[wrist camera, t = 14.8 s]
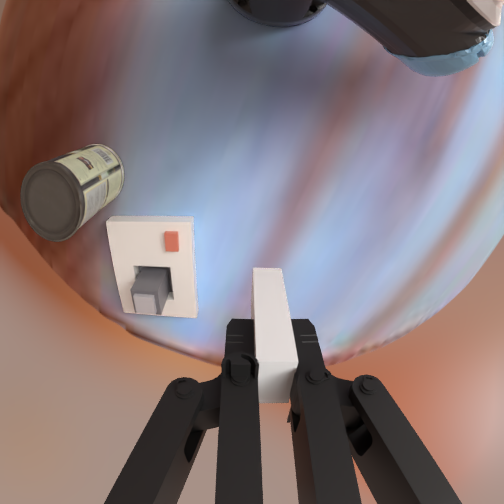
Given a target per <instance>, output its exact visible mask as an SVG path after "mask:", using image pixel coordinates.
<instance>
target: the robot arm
mask: <svg viewBox="0 0 504 504" xmlns="http://www.w3.org/2000/svg"><path fill="white" fill-rule="evenodd" d="M228 1H229V2H230V4H231V5H232V6H233V8H234V9H235V10H236V11H238V12H239V13H240V14H241V15H243V16H244V17H246V18H248V19H250V20H252V21H255V22H257V23H260V24H264V25H269V26H278V27H285V26H294V25H299V24H302V23H305V22H307V21H309V20H311V19H313V18H314V17H316V16H317V15H318V14H319V13H320V12H321V11H322V10H323V9H324V8H325V6H326V5H327V4H328V5H329V6H331V7H332V8H334V9H335V10H337V11H338V12H340V13H341V14H343V15H344V16H346V17H347V18H348V19H350V20H351V21H353V22H354V23H355V24H357V25H358V26H359V27H361V28H362V29H363V30H365V31H366V32H367V33H368V34H370V35H371V36H372V37H373V38H375V39H376V40H377V41H378V42H380V43H381V44H382V45H383V47H384V49H385V50H386V51H387V52H388V53H390V54H391V55H393V56H395V57H397V58H398V59H400V60H401V61H402V62H403V63H404V64H405V65H406V66H408V67H409V68H410V69H411V70H413V71H415V72H417V73H419V74H422V75H425V76H434V77H436V76H446V75H451V74H454V73H458V72H460V71H463V70H465V69H467V68H469V67H471V66H473V65H474V64H476V63H477V62H478V61H479V59H478V58H479V57H482V56H486V55H487V53H488V52H489V51H490V49H491V48H492V45H493V42H494V35H493V32H492V29H493V28H495V27H497V26H499V25H500V21H501V8H502V5H503V4H504V0H228ZM316 335H317V334H316V331H315V327H314V325H313V324H312V323H311V322H310V321H309V320H308V319H291V317H290V312H289V307H288V301H287V296H286V291H285V286H284V280H283V275H282V270H281V269H280V268H253V278H252V297H251V319H231V321H230V322H229V324H228V325H227V330H226V343H225V357H224V359H223V361H222V364H221V367H222V373H221V374H220V375H219V376H218V377H217V378H215V379H213V380H210V381H206V382H201V383H198V382H197V381H196V380H194V379H192V378H186V377H183V378H177V379H175V380H174V381H172V382H171V383H170V384H169V385H168V387H167V388H166V390H165V392H164V394H163V396H162V397H161V399H160V401H159V403H158V405H157V407H156V409H155V410H154V412H153V414H152V416H151V418H150V420H149V421H148V423H147V425H146V427H145V429H144V430H143V432H142V434H141V436H140V438H139V440H138V442H137V443H136V445H135V447H134V449H133V451H132V452H131V454H130V456H129V458H128V460H127V462H126V464H125V465H124V467H123V469H122V471H121V473H120V475H119V476H118V478H117V480H116V482H115V484H114V486H113V488H112V490H111V491H110V493H109V495H108V497H107V499H106V501H105V503H104V504H177V502H178V499H179V497H180V494H181V492H182V490H183V487H184V485H185V482H186V480H187V478H188V475H189V473H190V470H191V468H192V465H193V463H194V460H195V458H196V456H197V453H198V451H199V448H200V446H201V443H202V441H203V438H204V436H205V433H206V431H207V429H211V428H216V427H219V434H218V452H217V473H216V493H215V504H263V491H262V467H261V442H260V420H259V419H260V418H259V403H288V402H289V399H290V400H291V408H290V412H289V415H288V419H287V422H291V431H292V441H293V449H294V459H295V469H296V479H297V489H298V500H299V504H362V503H361V498H360V493H359V488H358V484H357V478H356V474H355V469H354V464H353V460H352V457H353V459H354V460H355V462H356V464H357V466H358V468H359V470H360V472H361V474H362V476H363V477H364V479H365V481H366V483H367V485H368V487H369V489H370V491H371V493H372V495H373V496H374V498H375V500H376V502H377V504H462V503H461V501H460V500H459V498H458V497H457V495H456V493H455V492H454V490H453V489H452V487H451V485H450V484H449V482H448V481H447V479H446V478H445V476H444V474H443V473H442V472H441V470H440V468H439V467H438V465H437V464H436V462H435V460H434V459H433V458H432V456H431V454H430V453H429V451H428V450H427V448H426V447H425V445H424V444H423V442H422V441H421V439H420V438H419V436H418V435H417V433H416V432H415V430H414V429H413V427H412V426H411V424H410V423H409V421H408V420H407V418H406V417H405V416H404V414H403V413H402V411H401V410H400V408H399V407H398V405H397V404H396V403H395V401H394V400H393V398H392V397H391V395H390V394H389V392H388V391H387V389H386V388H385V386H384V385H383V384H382V383H381V381H380V380H379V379H378V378H376V377H374V376H371V375H361V376H359V377H357V378H355V380H354V381H349V380H343V379H339V378H336V377H335V376H333V375H331V373H330V372H329V371H328V370H327V369H326V368H325V365H324V361H323V357H322V353H321V349H320V346H319V343H318V338H317V336H316Z"/></svg>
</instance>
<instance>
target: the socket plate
mask: <svg viewBox="0 0 504 504" xmlns="http://www.w3.org/2000/svg"><path fill="white" fill-rule="evenodd" d="M106 226H107V233H108V239H109V245H110V250H111V256H112V261H113V266H114V271H115V276H116V281H117V285H118V290H119V294H120V298H121V303H122V307H123V311H124V313H135V310H134V306H133V301H132V296H131V291H130V289H131V287H132V286H133V284H134V282H135V280H136V278H137V277H138V275H139V273H140V271H141V270H142V268H143V266H148V267H168V272H169V281H170V292H169V295H168V298H167V300H166V303H165V306H164V309H163V311H162V314H161V315H158V316H172V317H188V318H197V315H198V310H199V308H198V294H197V279H196V262H195V241H194V216H111V217H110V218H109V219H108V220H107V221H106ZM135 314H143V313H135ZM146 315H154V314H146Z"/></svg>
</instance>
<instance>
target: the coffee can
mask: <svg viewBox="0 0 504 504" xmlns="http://www.w3.org/2000/svg"><path fill="white" fill-rule="evenodd" d="M123 182H124V169H123V165H122V162H121V160H120V158H119V157H118V155H117V154H116V153H115V152H114V151H113V150H112V149H111V148H109V147H107V146H105V145H102V144H92V145H88V146H86V147H84V148H81V149H78V150H75V151H73V152H70V153H67V154H64V155H62V156H59V157H57V158H54V159H51V160H49V161H45V162H41V163H38V164H36V165H34V166H33V167H32V168H31V169H30V170H29V171H28V172H27V174H26V175H25V177H24V179H23V182H22V186H21V206H22V210H23V213H24V215H25V218H26V220H27V222H28V223H29V225H30V226H31V228H32V229H33V230H34V231H35V232H36V233H37V234H38V235H40V236H41V237H43V238H45V239H47V240H49V241H54V242H60V241H64V240H67V239H69V238H70V237H71V236H72V235H74V234H75V232H76V231H77V230H78V229H79V228H80V227H81V226H82V225H83V224H84V223H86V222H87V221H88V220H89V219H90V218H91V217H93V216H94V215H95V214H96V213H97V212H98V211H100V210H101V209H102V208H103V207H104V206H106V205H107V204H108V203H109V202H111V201H113V200H114V199H115V198H116V197H117V196H118V194H119V193H120V191H121V189H122V186H123Z"/></svg>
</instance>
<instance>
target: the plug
mask: <svg viewBox="0 0 504 504" xmlns="http://www.w3.org/2000/svg"><path fill="white" fill-rule="evenodd" d="M130 291H131V296H132V301H133V306H134V310H135V313H143V314H154V315H161V314H162V311H163V309H164V306H165V303H166V300H167V298H168V295H169V292H170V281H169V272H168V267H148V266H143V268H142V270H141V271H140V273H139V275H138V277H137V278H136V280H135V282H134V284H133V286H132V287H131V289H130Z"/></svg>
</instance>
